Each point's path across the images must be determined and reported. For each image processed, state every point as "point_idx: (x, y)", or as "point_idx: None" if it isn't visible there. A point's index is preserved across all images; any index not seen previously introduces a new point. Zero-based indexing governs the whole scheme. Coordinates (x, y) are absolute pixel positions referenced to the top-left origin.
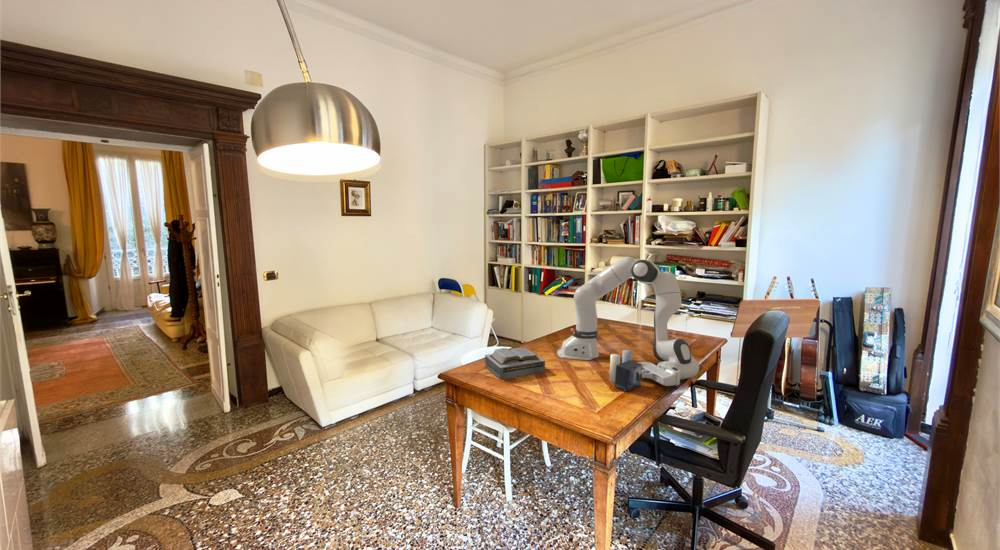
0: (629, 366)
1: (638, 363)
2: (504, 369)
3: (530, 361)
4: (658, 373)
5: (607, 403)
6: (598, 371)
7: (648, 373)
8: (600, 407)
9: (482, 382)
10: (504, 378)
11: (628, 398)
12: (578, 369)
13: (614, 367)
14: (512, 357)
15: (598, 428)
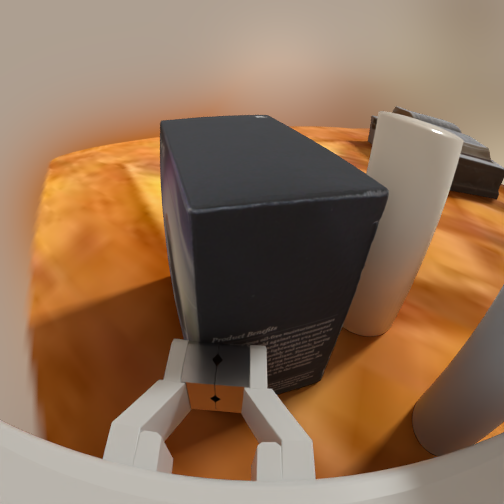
0: (192, 128)
1: (231, 189)
2: (374, 121)
3: None
4: (3, 456)
5: (140, 189)
6: (485, 301)
7: (142, 411)
8: (136, 174)
9: (355, 131)
10: (371, 142)
11: (115, 247)
12: (481, 251)
13: None
14: (403, 111)
15: (78, 153)
